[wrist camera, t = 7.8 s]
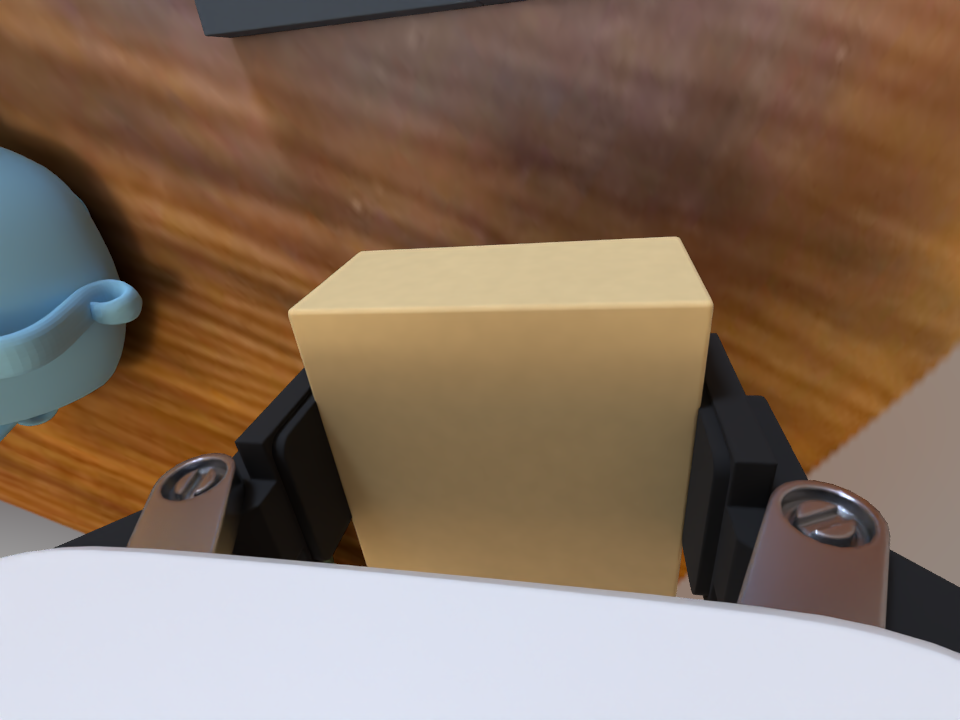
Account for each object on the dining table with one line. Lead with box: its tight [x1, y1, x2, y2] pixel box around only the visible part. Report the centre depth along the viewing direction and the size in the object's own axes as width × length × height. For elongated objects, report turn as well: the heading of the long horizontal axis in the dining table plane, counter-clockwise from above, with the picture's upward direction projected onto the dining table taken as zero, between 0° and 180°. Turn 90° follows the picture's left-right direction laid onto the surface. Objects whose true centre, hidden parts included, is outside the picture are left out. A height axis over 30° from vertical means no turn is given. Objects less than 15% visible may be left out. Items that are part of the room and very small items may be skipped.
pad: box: [288, 237, 714, 597], centre depth 11 cm, size 7×7×3 cm
